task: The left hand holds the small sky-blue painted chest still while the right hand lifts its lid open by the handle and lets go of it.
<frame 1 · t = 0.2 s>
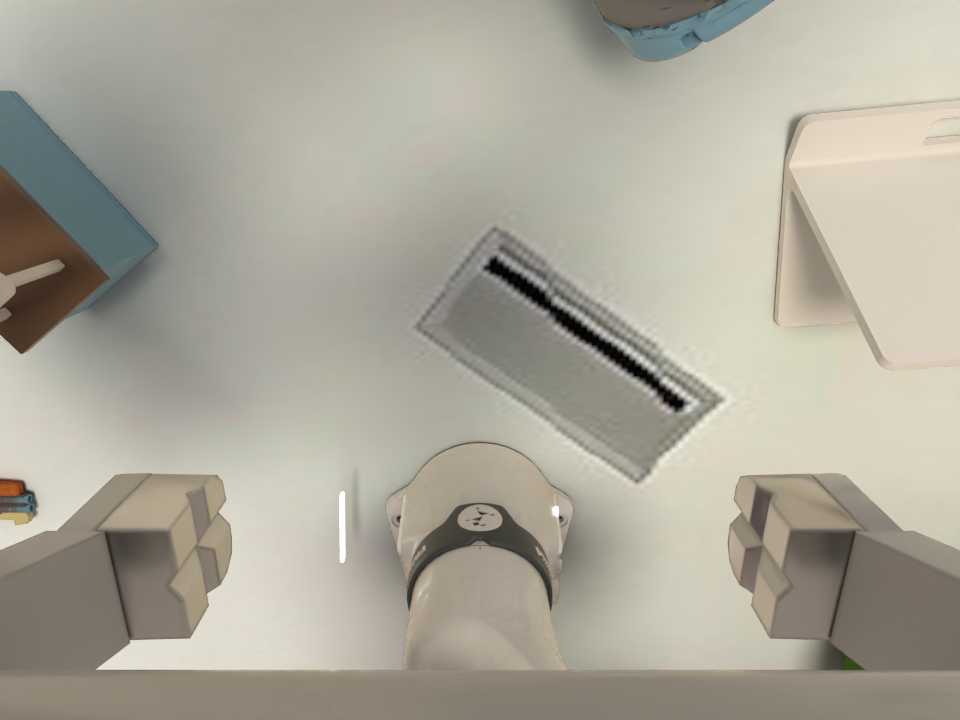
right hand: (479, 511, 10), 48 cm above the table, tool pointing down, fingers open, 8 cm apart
chest: (53, 206, 56), on the table
tablet stand: (925, 212, 56), on the table
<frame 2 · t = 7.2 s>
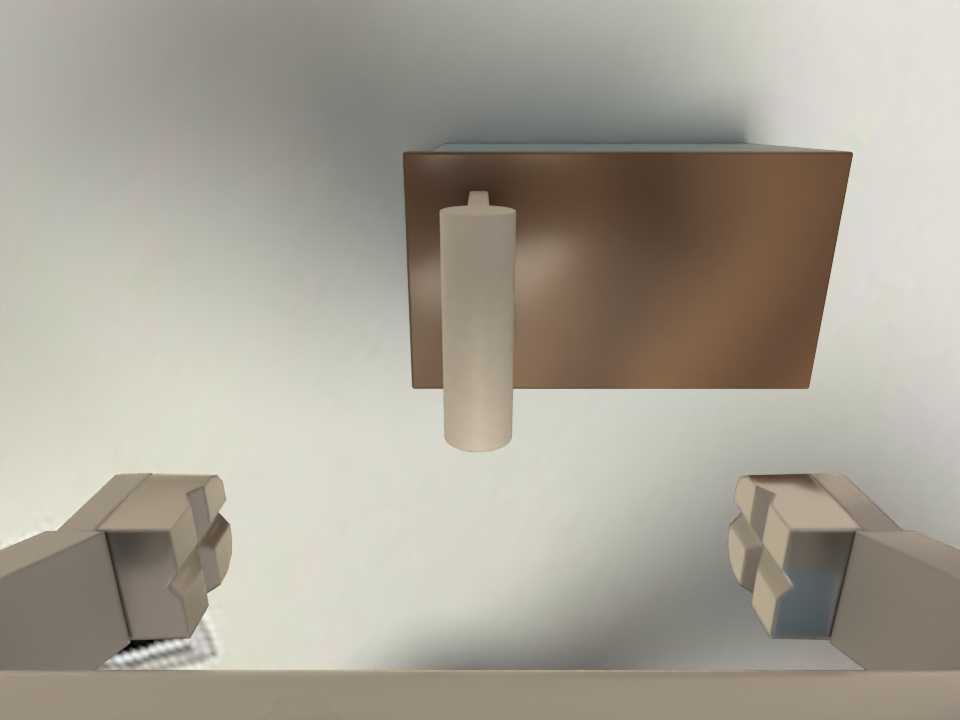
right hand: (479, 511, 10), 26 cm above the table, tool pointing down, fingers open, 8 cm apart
chest: (590, 235, 35), on the table
lid: (639, 301, 22), point 14 cm above the table, hinge at 0.0°
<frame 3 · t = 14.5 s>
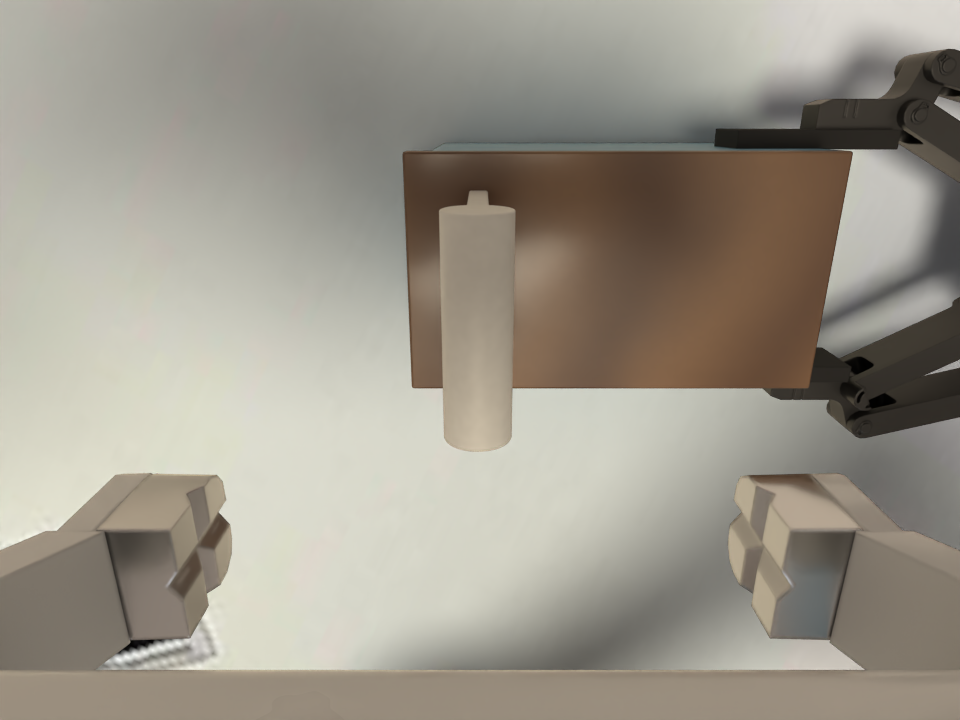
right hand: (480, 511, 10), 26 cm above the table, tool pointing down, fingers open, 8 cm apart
left hand: (711, 258, 29), fingers closed on chest, 9 cm apart
chest: (590, 235, 35), on the table, touching left hand
lid: (638, 300, 22), point 14 cm above the table, hinge at 0.0°
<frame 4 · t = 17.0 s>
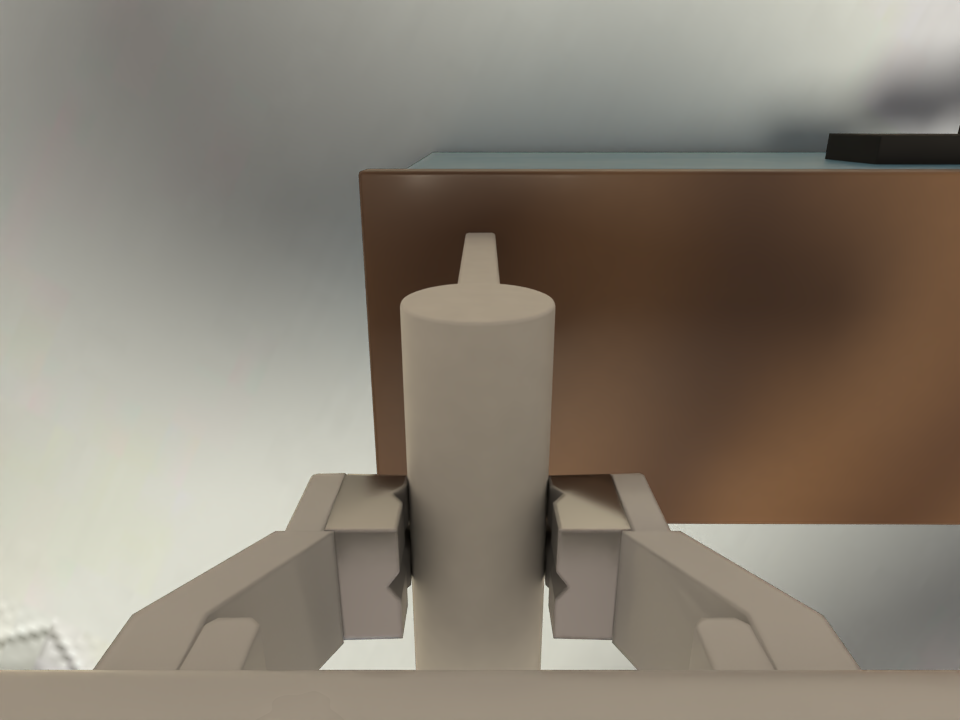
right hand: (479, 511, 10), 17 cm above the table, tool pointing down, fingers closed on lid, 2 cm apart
chest: (631, 276, 26), on the table, touching left hand
lid: (751, 426, 13), point 14 cm above the table, hinge at -0.1°, touching right hand
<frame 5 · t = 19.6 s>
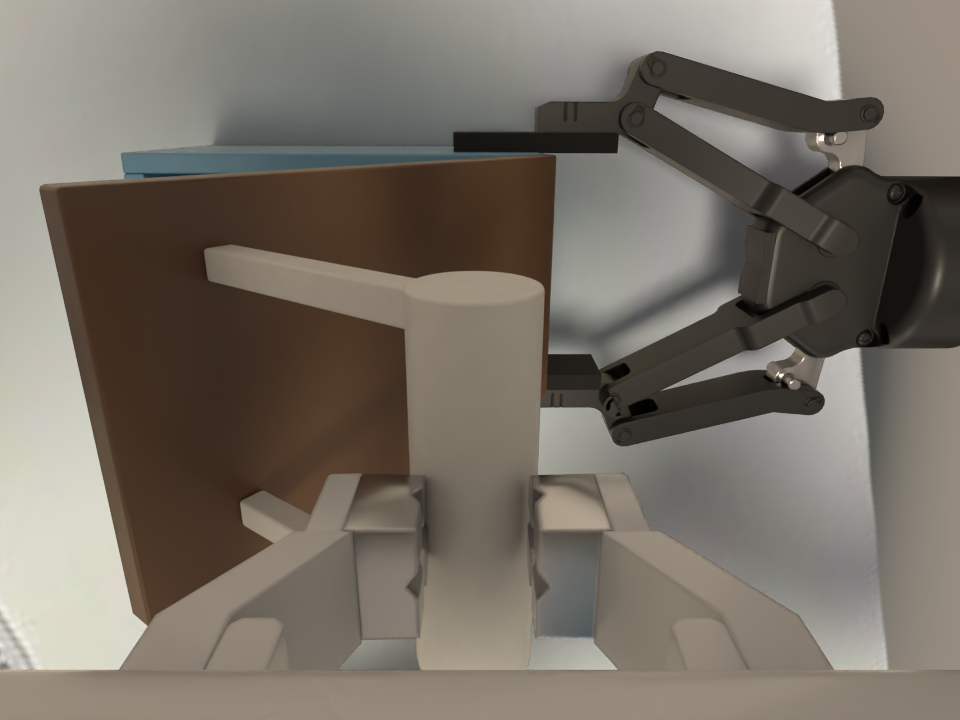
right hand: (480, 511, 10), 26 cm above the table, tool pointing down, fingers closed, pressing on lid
left hand: (455, 263, 29), fingers closed on chest, 9 cm apart
chest: (372, 240, 34), on the table, touching left hand
lid: (502, 359, 17), point 19 cm above the table, hinge at 51.4°, touching right hand
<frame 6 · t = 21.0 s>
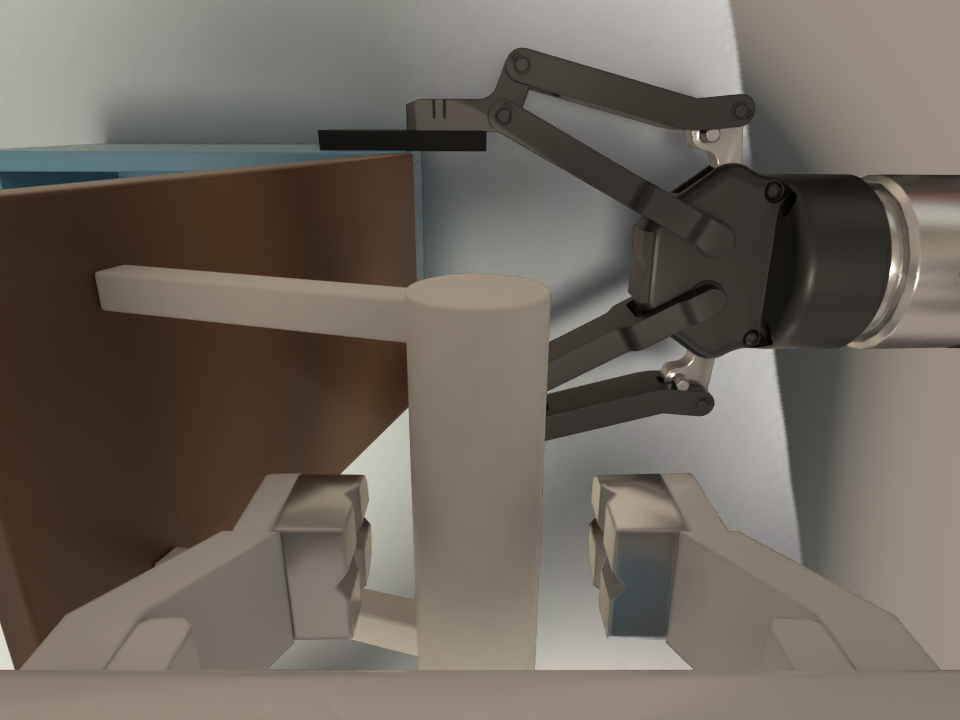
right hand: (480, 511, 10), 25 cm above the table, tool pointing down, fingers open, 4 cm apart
left hand: (335, 263, 28), fingers closed on chest, 9 cm apart
chest: (273, 239, 34), on the table, touching left hand
lid: (419, 364, 16), point 19 cm above the table, hinge at 71.6°
when the left hand's fingers open (6 cm above the table, at t = 24.9 s): chest stays where it is, on the table.
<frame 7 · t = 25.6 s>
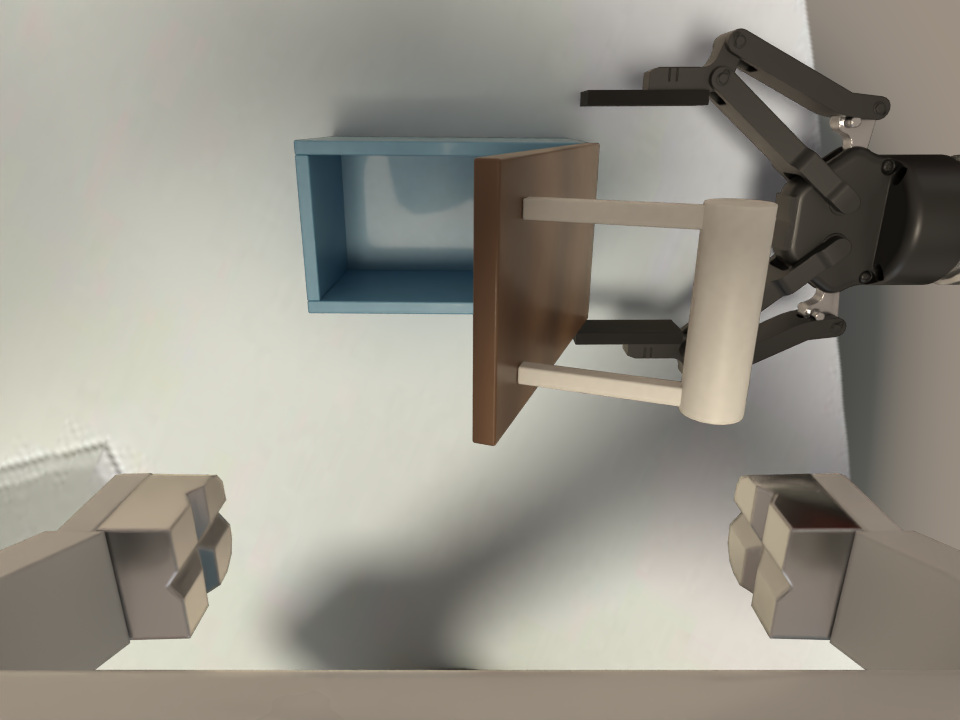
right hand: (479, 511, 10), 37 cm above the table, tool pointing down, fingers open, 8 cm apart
left hand: (577, 222, 38), fingers open, 13 cm apart
chest: (450, 210, 45), on the table
lid: (641, 270, 27), point 19 cm above the table, hinge at 70.1°
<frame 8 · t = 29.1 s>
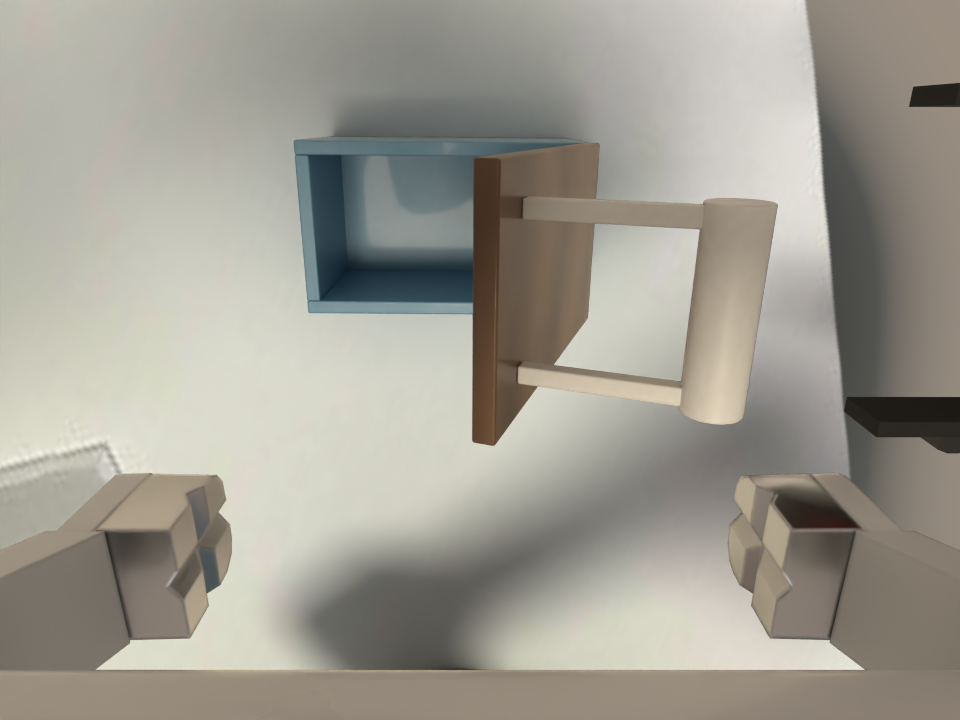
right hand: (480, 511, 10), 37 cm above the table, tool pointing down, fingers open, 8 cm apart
chest: (450, 210, 45), on the table
lid: (640, 270, 27), point 19 cm above the table, hinge at 70.1°
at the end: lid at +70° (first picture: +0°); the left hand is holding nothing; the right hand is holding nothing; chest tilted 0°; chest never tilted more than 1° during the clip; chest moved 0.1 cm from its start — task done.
